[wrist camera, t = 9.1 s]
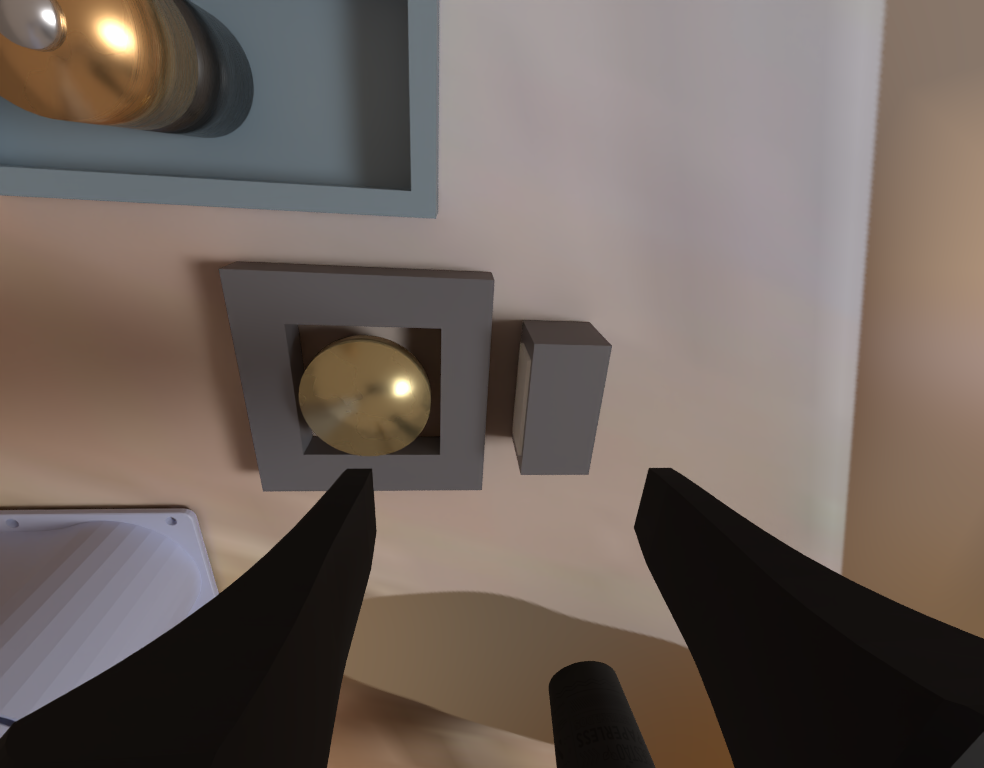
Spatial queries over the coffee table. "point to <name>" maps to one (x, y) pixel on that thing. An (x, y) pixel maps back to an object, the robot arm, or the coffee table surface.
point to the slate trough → (271, 122)
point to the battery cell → (125, 65)
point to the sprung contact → (365, 396)
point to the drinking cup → (594, 720)
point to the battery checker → (464, 374)
